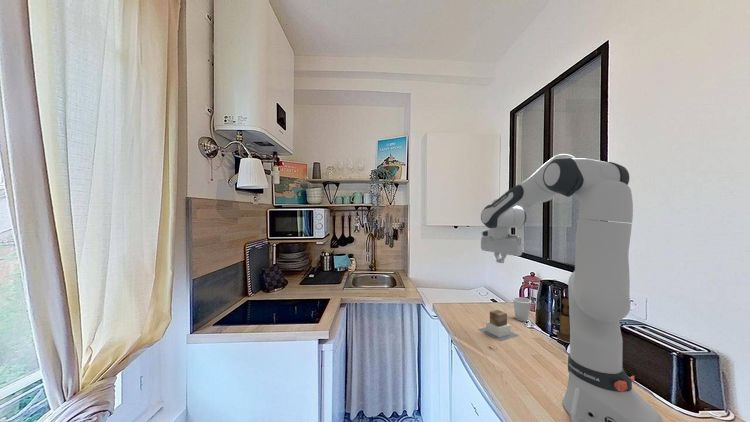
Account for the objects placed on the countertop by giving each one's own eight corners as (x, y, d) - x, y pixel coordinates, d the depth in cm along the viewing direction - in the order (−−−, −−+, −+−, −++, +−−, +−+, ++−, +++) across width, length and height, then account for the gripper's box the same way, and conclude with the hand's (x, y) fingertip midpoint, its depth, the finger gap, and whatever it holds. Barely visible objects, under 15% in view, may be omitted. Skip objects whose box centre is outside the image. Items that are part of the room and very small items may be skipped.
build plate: (519, 337, 117) (519, 335, 117) (500, 343, 111) (500, 341, 111) (496, 327, 128) (496, 324, 128) (477, 331, 122) (477, 329, 122)
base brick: (510, 334, 118) (510, 325, 118) (499, 337, 115) (499, 328, 115) (496, 327, 124) (497, 319, 124) (486, 330, 121) (486, 322, 121)
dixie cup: (515, 321, 134) (515, 301, 134) (510, 315, 142) (510, 296, 142) (533, 323, 132) (533, 303, 132) (528, 316, 140) (528, 297, 140)
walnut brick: (506, 324, 118) (507, 313, 118) (499, 326, 116) (499, 315, 116) (497, 320, 123) (497, 309, 123) (489, 322, 121) (489, 311, 121)
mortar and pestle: (568, 345, 111) (568, 301, 111) (552, 338, 117) (553, 297, 117) (578, 342, 113) (578, 300, 113) (562, 335, 119) (563, 295, 119)
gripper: (525, 235, 118) (525, 266, 118) (487, 231, 136) (487, 258, 136) (516, 235, 115) (515, 267, 115) (478, 231, 133) (478, 259, 133)
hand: (500, 262), depth 126 cm, fingers closed
